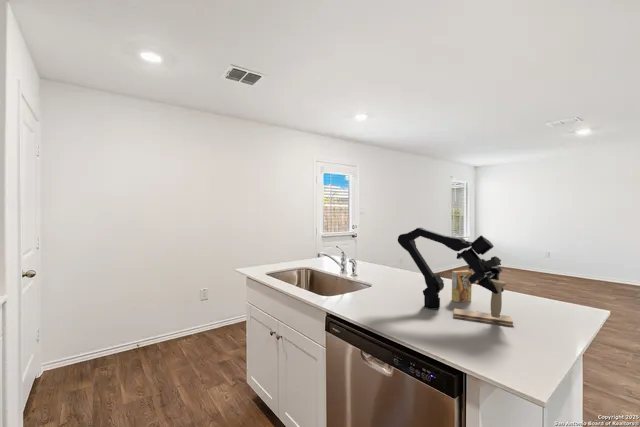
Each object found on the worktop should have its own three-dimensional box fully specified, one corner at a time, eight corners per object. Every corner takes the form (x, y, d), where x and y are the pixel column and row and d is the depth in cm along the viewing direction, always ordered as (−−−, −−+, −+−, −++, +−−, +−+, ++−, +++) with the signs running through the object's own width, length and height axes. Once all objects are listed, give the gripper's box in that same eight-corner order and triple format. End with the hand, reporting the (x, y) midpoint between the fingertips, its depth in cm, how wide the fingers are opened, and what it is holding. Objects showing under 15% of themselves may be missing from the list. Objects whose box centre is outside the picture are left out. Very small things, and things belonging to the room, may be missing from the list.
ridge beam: (453, 318, 128) (453, 314, 128) (454, 310, 137) (454, 307, 137) (513, 327, 118) (513, 323, 118) (509, 318, 127) (509, 315, 127)
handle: (496, 320, 119) (498, 283, 118) (484, 313, 125) (486, 279, 125) (506, 319, 120) (508, 283, 119) (494, 313, 126) (496, 279, 125)
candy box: (466, 299, 155) (466, 270, 155) (471, 301, 151) (472, 271, 150) (451, 300, 153) (451, 270, 153) (456, 302, 149) (457, 272, 148)
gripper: (476, 252, 119) (505, 285, 111) (497, 248, 130) (525, 278, 122) (457, 267, 126) (483, 300, 117) (479, 263, 137) (504, 292, 128)
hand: (500, 292), depth 121 cm, fingers closed on handle, 5 cm apart
